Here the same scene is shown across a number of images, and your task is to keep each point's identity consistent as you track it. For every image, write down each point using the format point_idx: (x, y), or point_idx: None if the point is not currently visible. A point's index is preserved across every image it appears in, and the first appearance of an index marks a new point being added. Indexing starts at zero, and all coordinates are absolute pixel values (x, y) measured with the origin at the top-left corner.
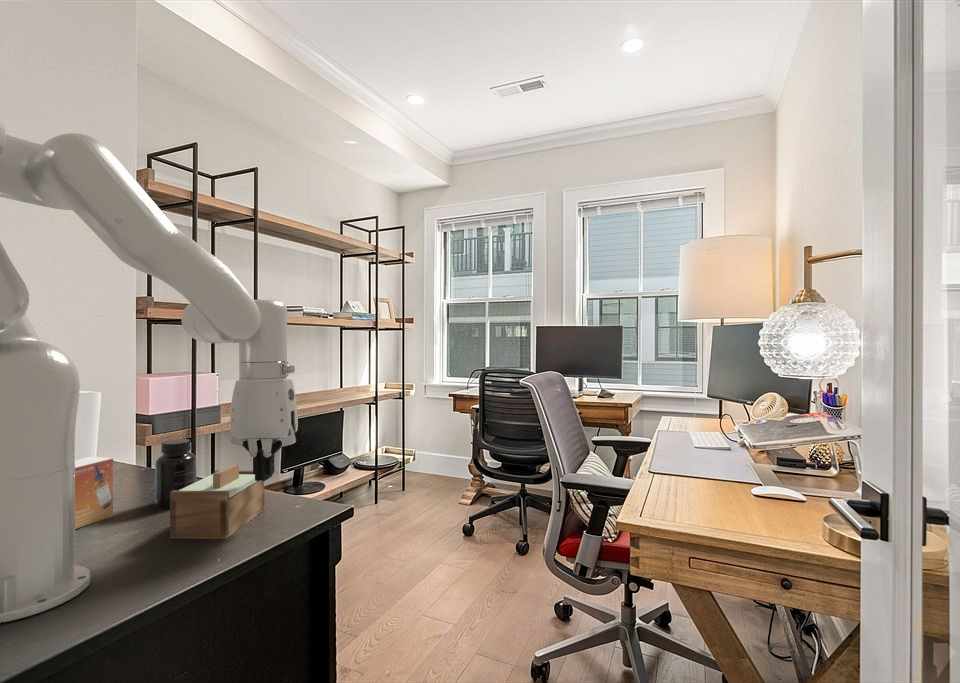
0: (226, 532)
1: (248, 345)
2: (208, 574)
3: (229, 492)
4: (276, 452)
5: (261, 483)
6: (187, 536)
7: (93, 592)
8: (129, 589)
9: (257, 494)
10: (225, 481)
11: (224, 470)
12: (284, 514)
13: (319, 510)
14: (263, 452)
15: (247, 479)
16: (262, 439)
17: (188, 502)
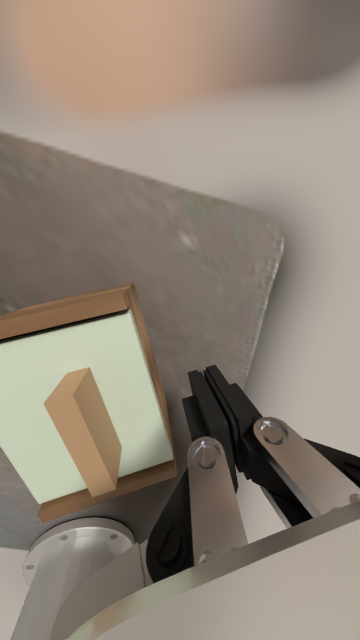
0: (167, 407)
1: None
2: None
3: (170, 457)
4: (279, 423)
5: (132, 306)
6: None
7: (137, 521)
8: (165, 506)
9: (139, 322)
10: (111, 436)
11: (94, 463)
12: (187, 291)
13: (241, 253)
14: (231, 457)
15: (130, 370)
16: (244, 529)
17: None
